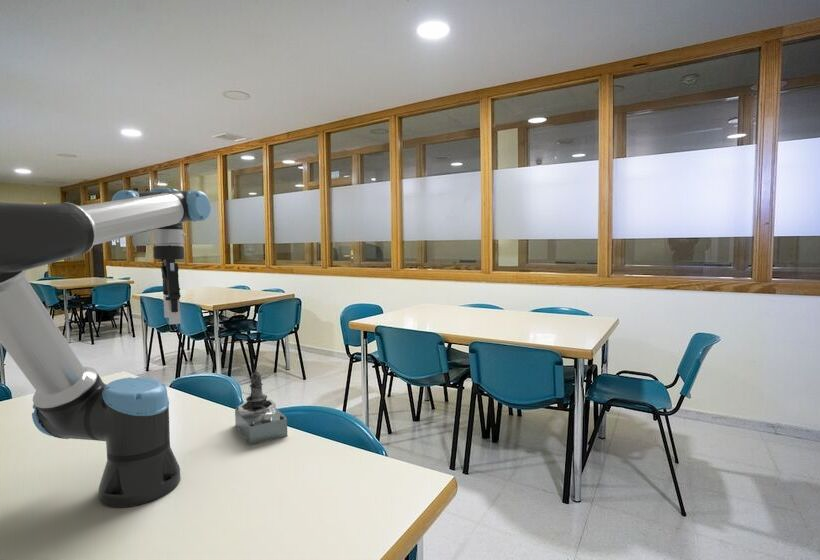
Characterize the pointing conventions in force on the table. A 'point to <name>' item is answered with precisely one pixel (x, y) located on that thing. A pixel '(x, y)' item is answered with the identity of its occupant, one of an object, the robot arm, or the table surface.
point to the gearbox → (260, 422)
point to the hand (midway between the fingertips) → (172, 320)
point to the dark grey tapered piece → (256, 393)
